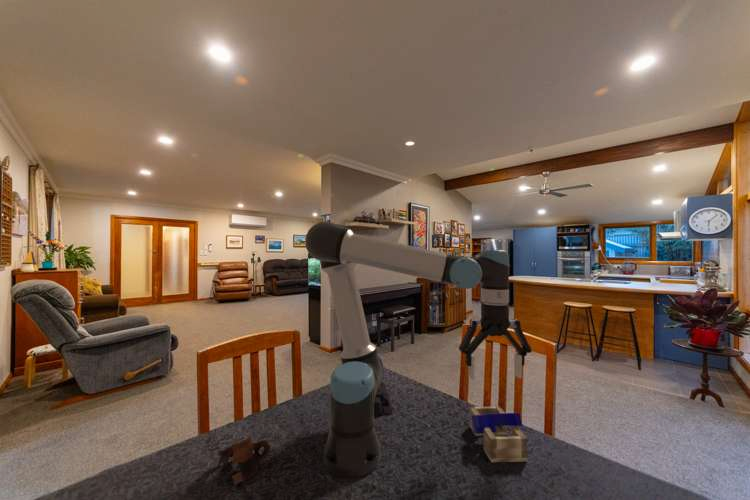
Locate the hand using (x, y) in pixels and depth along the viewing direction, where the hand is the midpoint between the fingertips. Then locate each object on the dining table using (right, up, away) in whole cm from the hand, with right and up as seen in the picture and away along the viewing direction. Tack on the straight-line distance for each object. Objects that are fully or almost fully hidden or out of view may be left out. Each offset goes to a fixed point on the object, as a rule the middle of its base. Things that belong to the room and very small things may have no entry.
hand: (494, 376), depth 85 cm
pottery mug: (-68, -19, -10) cm, 71 cm away
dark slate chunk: (-36, -20, +24) cm, 48 cm away
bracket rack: (0, -19, 0) cm, 19 cm away
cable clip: (0, -14, +2) cm, 15 cm away
